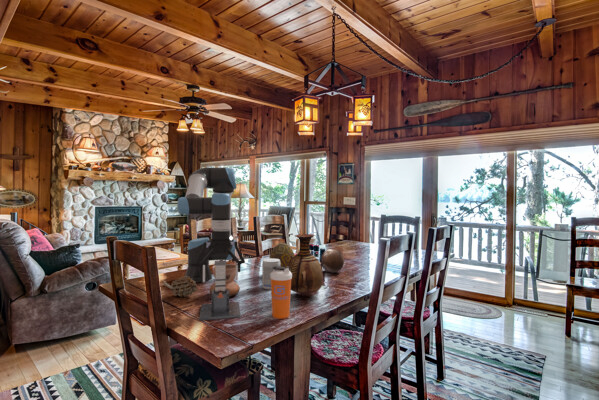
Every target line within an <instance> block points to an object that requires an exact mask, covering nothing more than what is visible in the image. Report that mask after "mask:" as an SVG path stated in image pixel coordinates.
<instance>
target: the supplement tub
mask: <svg viewBox="0 0 599 400" xmlns="http://www.w3.org/2000/svg"><path fill="white" fill-rule="evenodd" d="M269 258H270V257H269ZM269 258H264V259H263V260H262V264H261V267H262V271H261V272H262V275H261V276H262V277H261V278H262V281H261V282H262V285H261V286H262V288H263V289H265V290H270V291H271V279H270V274H271V272H272V271H273V268H272V267H274V266H280V260H279V259H274V258H270V259H269Z"/></svg>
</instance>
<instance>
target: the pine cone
mask: <svg viewBox="0 0 599 400" xmlns="http://www.w3.org/2000/svg"><path fill="white" fill-rule="evenodd" d="M196 283H197V282H196V281H194V280H192V278H191V279H190V277H189V276H186V277H185V276H181V277H179V278H175V280H174V281H172V282H171V285H170V284H169V283H167V281H165V280H164V279H163V281H162V284H163V285H164V286H165V287H167V288H169V289H170V290H171V292H172V293H173V295H174V296H175V297H177V296H179V297H184V298H185V297H188V296H191V295H193V294H194V293H196V292H197V291H198V288H197V286H198V285H197V284H196Z"/></svg>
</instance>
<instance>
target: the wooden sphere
mask: <svg viewBox="0 0 599 400" xmlns="http://www.w3.org/2000/svg"><path fill="white" fill-rule="evenodd" d="M320 265H321V268H322V269H323V270H324V271H326V272H328V273H332V274H333V273H339V272H340V271H341V270H342V269H343V267H344V266H345V258H344V255H343V253H342V252H341V251H340V250H338V249H336V248H328V249H326V250H325V251H324V252H323V253H322V254H321V257H320Z"/></svg>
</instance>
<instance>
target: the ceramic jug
mask: <svg viewBox="0 0 599 400" xmlns="http://www.w3.org/2000/svg"><path fill="white" fill-rule="evenodd" d="M211 271H212V275H213V277H214V278H215V277H216V266H215V264H213V265H212V270H211ZM225 276H226V281H225V282H226V287H225V288H226V289H229V298H230V297H233V296H235V295H237V294H238V293H239V292H240V288H241V287H240V285H239V284H238V283H236V282H235V281H234V280H235V279H236V264H232V263H227V265H226V268H225ZM208 290H209V293H210V294H211V295H212V290H215V282H214V283H212V284H211V285H210V286H209V289H208Z"/></svg>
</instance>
